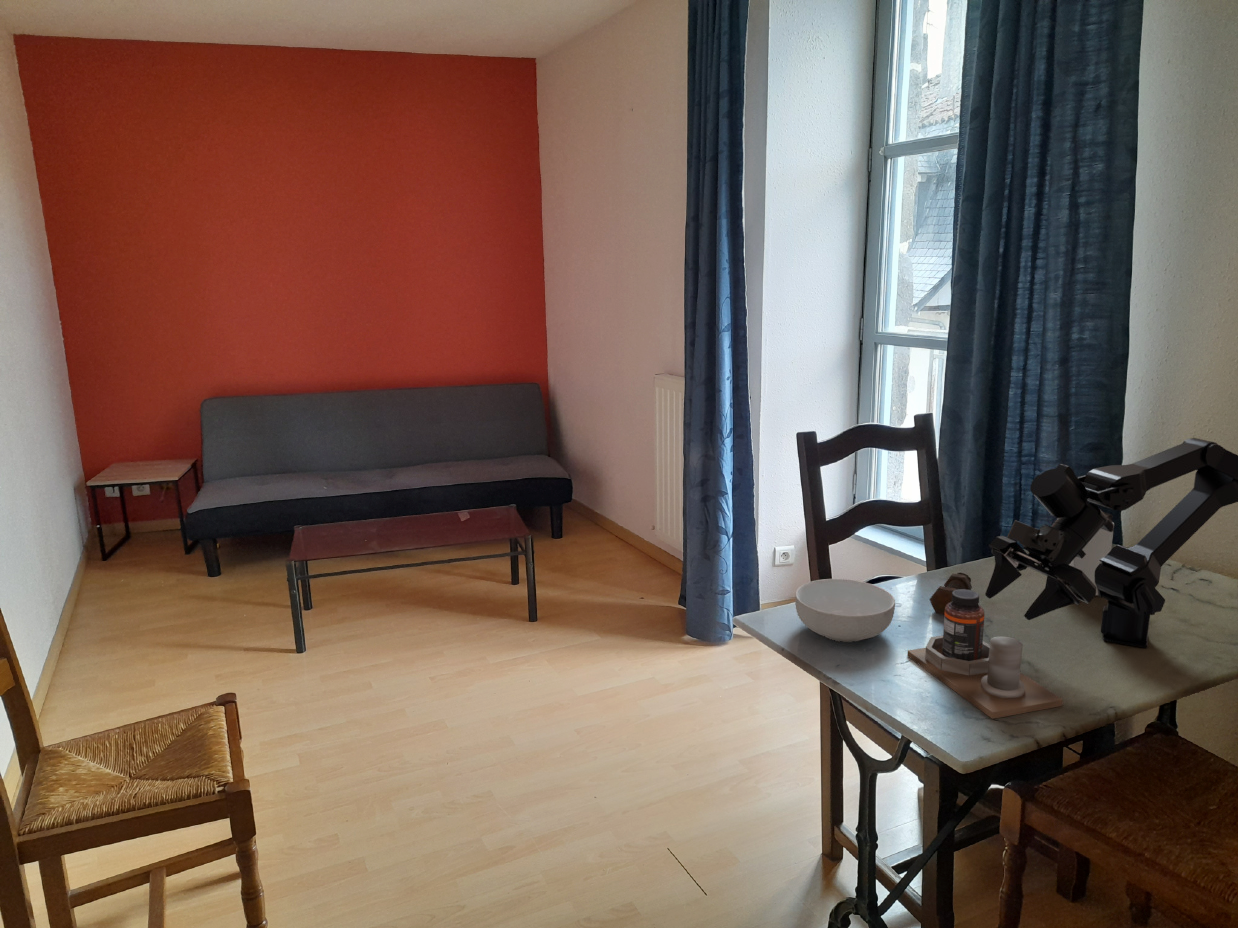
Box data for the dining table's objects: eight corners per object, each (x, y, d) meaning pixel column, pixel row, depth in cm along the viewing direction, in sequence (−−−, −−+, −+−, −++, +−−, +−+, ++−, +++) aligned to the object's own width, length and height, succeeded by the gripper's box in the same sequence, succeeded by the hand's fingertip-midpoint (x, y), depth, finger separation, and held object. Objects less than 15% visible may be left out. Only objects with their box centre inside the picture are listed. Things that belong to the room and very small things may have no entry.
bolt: (965, 598, 173) (948, 623, 160) (943, 582, 174) (924, 605, 162) (983, 576, 170) (966, 599, 158) (960, 560, 172) (942, 582, 159)
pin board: (907, 655, 145) (910, 608, 143) (969, 645, 148) (973, 599, 146) (992, 718, 125) (996, 664, 123) (1062, 705, 128) (1067, 652, 126)
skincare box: (1085, 584, 173) (1093, 512, 169) (1108, 595, 167) (1116, 521, 164) (1048, 589, 171) (1055, 516, 168) (1070, 600, 165) (1077, 525, 162)
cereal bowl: (832, 662, 143) (834, 621, 142) (775, 624, 158) (776, 587, 157) (914, 641, 150) (916, 603, 148) (852, 607, 165) (853, 572, 163)
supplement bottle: (973, 651, 144) (979, 586, 141) (986, 667, 138) (992, 600, 135) (936, 650, 144) (941, 586, 141) (948, 667, 138) (953, 600, 135)
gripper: (1002, 489, 147) (941, 559, 147) (1088, 520, 130) (1019, 599, 129) (1038, 528, 151) (978, 597, 151) (1126, 564, 133) (1058, 641, 133)
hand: (1006, 607), depth 141 cm, fingers open, 9 cm apart
